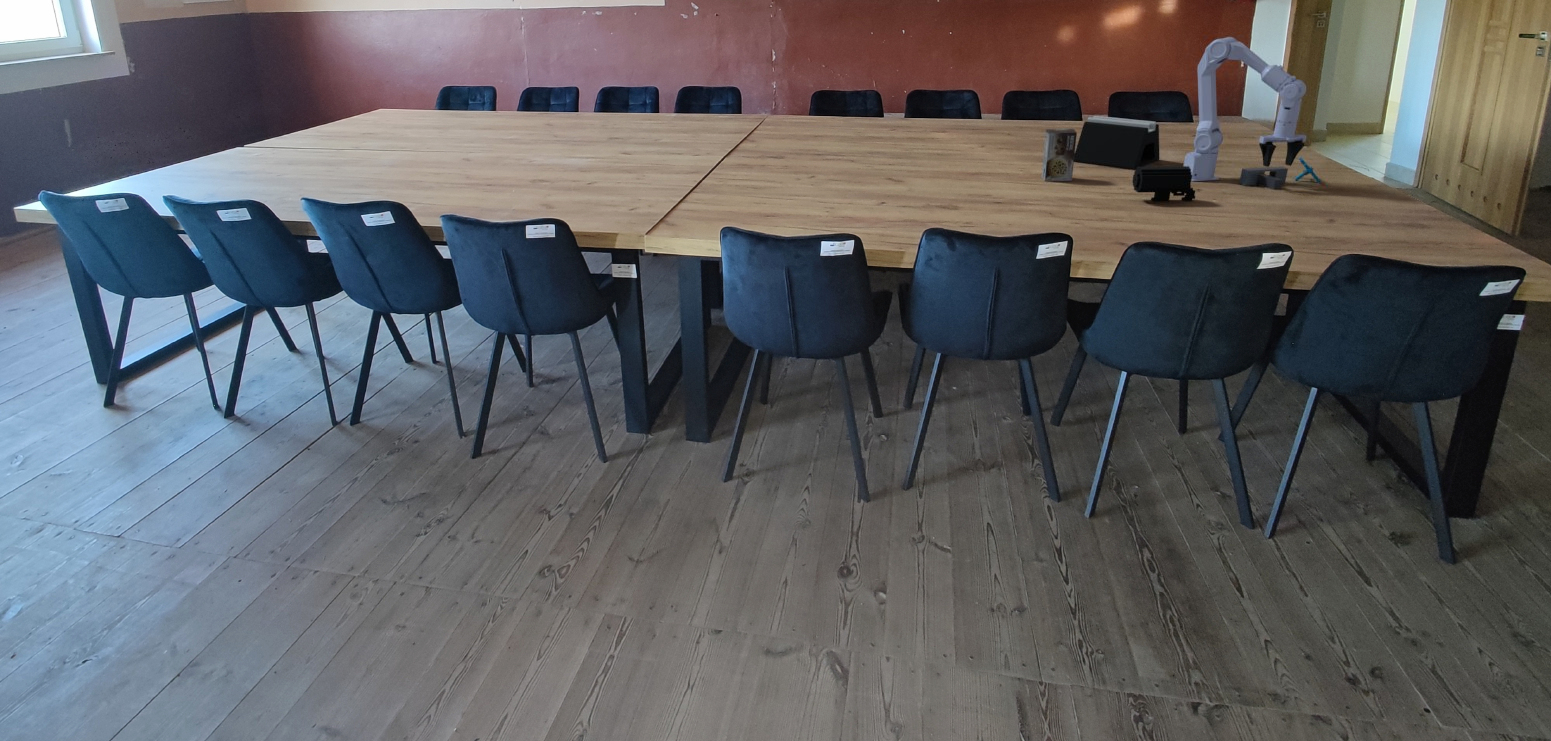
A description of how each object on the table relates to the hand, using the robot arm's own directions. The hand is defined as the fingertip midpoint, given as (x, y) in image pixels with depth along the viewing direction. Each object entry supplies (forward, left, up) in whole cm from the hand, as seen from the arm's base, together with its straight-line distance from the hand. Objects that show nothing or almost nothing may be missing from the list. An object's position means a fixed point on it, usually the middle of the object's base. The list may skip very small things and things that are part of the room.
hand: (1277, 165), depth 287 cm
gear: (+17, +6, -7) cm, 19 cm away
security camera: (-42, -8, -7) cm, 44 cm away
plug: (0, +5, -7) cm, 9 cm away
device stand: (-28, +49, -8) cm, 57 cm away
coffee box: (-61, +26, -7) cm, 67 cm away
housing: (0, +5, -7) cm, 9 cm away
